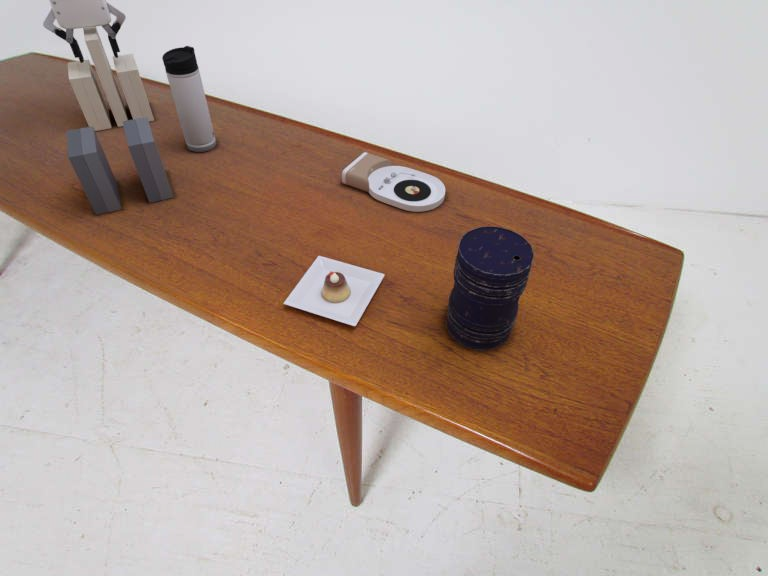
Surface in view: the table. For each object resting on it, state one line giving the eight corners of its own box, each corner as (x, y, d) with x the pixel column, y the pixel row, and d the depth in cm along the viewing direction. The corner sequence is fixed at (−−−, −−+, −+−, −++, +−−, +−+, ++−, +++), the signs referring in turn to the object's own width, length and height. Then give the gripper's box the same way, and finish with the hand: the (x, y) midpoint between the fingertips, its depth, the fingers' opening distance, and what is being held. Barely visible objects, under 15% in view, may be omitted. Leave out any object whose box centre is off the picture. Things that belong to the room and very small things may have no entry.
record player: (368, 148, 105) (455, 176, 98) (368, 161, 107) (453, 189, 101) (338, 174, 98) (430, 206, 91) (338, 187, 100) (428, 219, 93)
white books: (91, 131, 114) (68, 79, 105) (88, 113, 120) (67, 62, 111) (154, 120, 118) (137, 69, 110) (148, 103, 124) (132, 53, 116)
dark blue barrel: (433, 331, 74) (444, 255, 63) (463, 292, 80) (478, 217, 69) (494, 362, 70) (517, 286, 59) (521, 319, 76) (546, 243, 65)
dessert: (319, 260, 84) (317, 238, 81) (385, 279, 81) (385, 257, 78) (283, 308, 76) (279, 286, 73) (355, 331, 73) (354, 309, 70)
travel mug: (223, 142, 111) (202, 49, 97) (202, 155, 107) (176, 60, 93) (203, 135, 114) (179, 42, 99) (181, 147, 110) (153, 53, 95)
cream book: (117, 127, 115) (84, 40, 102) (114, 109, 122) (82, 25, 108) (129, 125, 116) (98, 39, 103) (125, 107, 123) (95, 23, 109)
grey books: (96, 215, 92) (68, 157, 83) (92, 187, 98) (66, 130, 90) (173, 197, 96) (154, 141, 88) (165, 172, 103) (147, 116, 94)
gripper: (110, -46, 102) (139, 46, 114) (13, -39, 96) (55, 57, 109) (113, -37, 97) (143, 58, 110) (12, -29, 92) (55, 70, 104)
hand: (99, 57), depth 109 cm, fingers open, 6 cm apart
